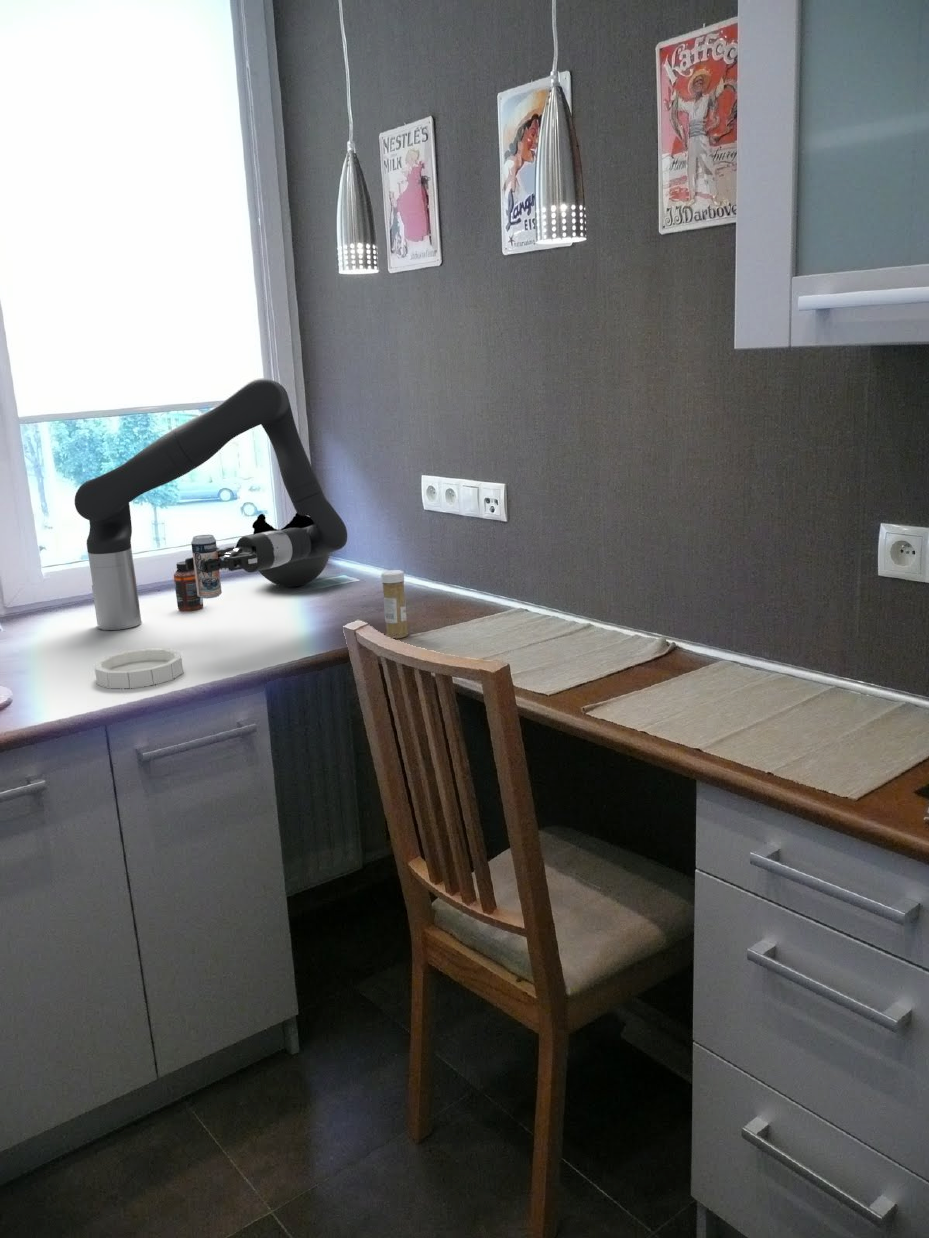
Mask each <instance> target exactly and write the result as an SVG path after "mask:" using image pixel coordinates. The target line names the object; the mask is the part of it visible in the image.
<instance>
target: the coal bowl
mask: <svg viewBox="0 0 929 1238" xmlns="http://www.w3.org/2000/svg"><path fill="white" fill-rule="evenodd" d="M314 524H315V523H314V522H313V520H312V519H311V518H310V517H309V516H307V515H305V516H302V515H299V514H298V513H297V512H296V513H295V514H294V516H293V517H292V519H291V520H290V521H289V523H287V524H286V525H285V526H284V527H282V528H281V529H279V528H278V529H277V528H275V527H273V525H271V524H269V523H268V522H267V521H266V516H265V514H264V513H261V514H259V515H258V516H257V517H256V520H254V521H253V522H252V526H251V527H252V528H253V534H258V533H263V532H268V531H279V530H284V529H288V528H305V527H308V526H311V525H314ZM253 534H252V535H253ZM330 554H331V553H329V554H326V555H323V556H319V557H315V558H307V559H301V560H298V561H293V562H289V563H285V564H283V565H280V566H277V567H273V568H269V569H265V570H261V571H258V573H260V575H261V576H263V577H264V578H265V579H266V580H268V581H269V582H271V583H273V584H276V585H278V586H282V587H287V588H295V587H300V586H304V585H306V584H307V585H308V584H309V583H310V582H312V581H314V580H315V579H316V578H318V576H320V575H321V574H322V572H323V571H324V569H325V568H326V567H327V564H328V561H329V560H330Z"/></svg>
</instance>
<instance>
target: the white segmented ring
mask: <svg viewBox="0 0 929 1238" xmlns="http://www.w3.org/2000/svg"><path fill="white" fill-rule="evenodd" d="M94 672H95V679H96V685H97V686H101V687H103V688H107V689H111V688H120V690H121V688H122V689H123V690H125V689H124V688H130V689H131V688H132V689H137V688H144V686H146V687H151V686H150V685H153V686H156V685H160V684H163V683H165V681H166V682H169V681H173V680H175V679H176V678H178V677H179V676H180V674H181V675H182V674H184V667H183V658H182V655H181V651H178V650H174V649H171V648H143V649H142V648H141V649H134V650H127V651H123V652H119V653H115V654H112V655H108V656H105V657H104V658H102V659H100V660H98V661H96V662H94ZM174 678H175V679H174ZM155 684H156V685H155Z"/></svg>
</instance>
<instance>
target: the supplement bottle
mask: <svg viewBox="0 0 929 1238" xmlns="http://www.w3.org/2000/svg"><path fill="white" fill-rule="evenodd" d="M173 580H174V581H173V582H174V588H175V589H174V591H175V596H176V603H177V609H178V610H179V611H181V612H195V611H199V610H201V609H203V607H204V598H201V597H199V596H197V587H196V579H195V570H194V569H192V570H187V569H186V565H185V560H182V561H178V562H176V571H175V572H174V573H173Z"/></svg>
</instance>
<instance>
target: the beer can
mask: <svg viewBox="0 0 929 1238" xmlns="http://www.w3.org/2000/svg"><path fill="white" fill-rule="evenodd" d="M190 545H191V550H192V552H191V553H192V557H193V562H194V570H195V579H196V587H197V596H199V597H201V598H203V599H214V598H217V597H220V596H221V595H222V593H223V591H222V585H221V582H222V581H221V575H220V570H217V571H212V572H208V573H204V572H202V567H201V563H202V562H203V561H207V560H211V559H216V558H218V555H217V548H218V547H217V539H216V538H215V536H214V535H213V534H200V535H195V536H193V537H192V540H191V542H190Z"/></svg>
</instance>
